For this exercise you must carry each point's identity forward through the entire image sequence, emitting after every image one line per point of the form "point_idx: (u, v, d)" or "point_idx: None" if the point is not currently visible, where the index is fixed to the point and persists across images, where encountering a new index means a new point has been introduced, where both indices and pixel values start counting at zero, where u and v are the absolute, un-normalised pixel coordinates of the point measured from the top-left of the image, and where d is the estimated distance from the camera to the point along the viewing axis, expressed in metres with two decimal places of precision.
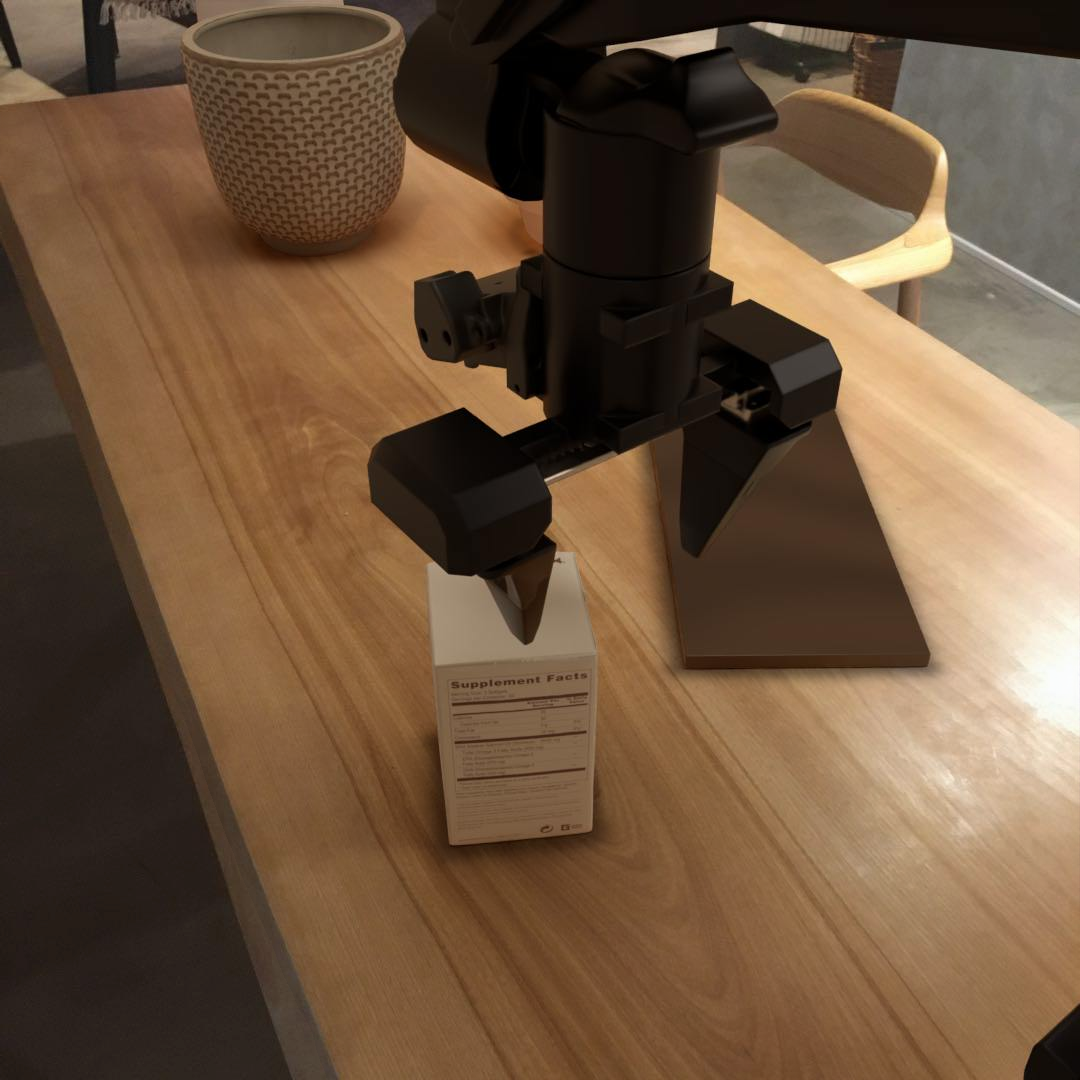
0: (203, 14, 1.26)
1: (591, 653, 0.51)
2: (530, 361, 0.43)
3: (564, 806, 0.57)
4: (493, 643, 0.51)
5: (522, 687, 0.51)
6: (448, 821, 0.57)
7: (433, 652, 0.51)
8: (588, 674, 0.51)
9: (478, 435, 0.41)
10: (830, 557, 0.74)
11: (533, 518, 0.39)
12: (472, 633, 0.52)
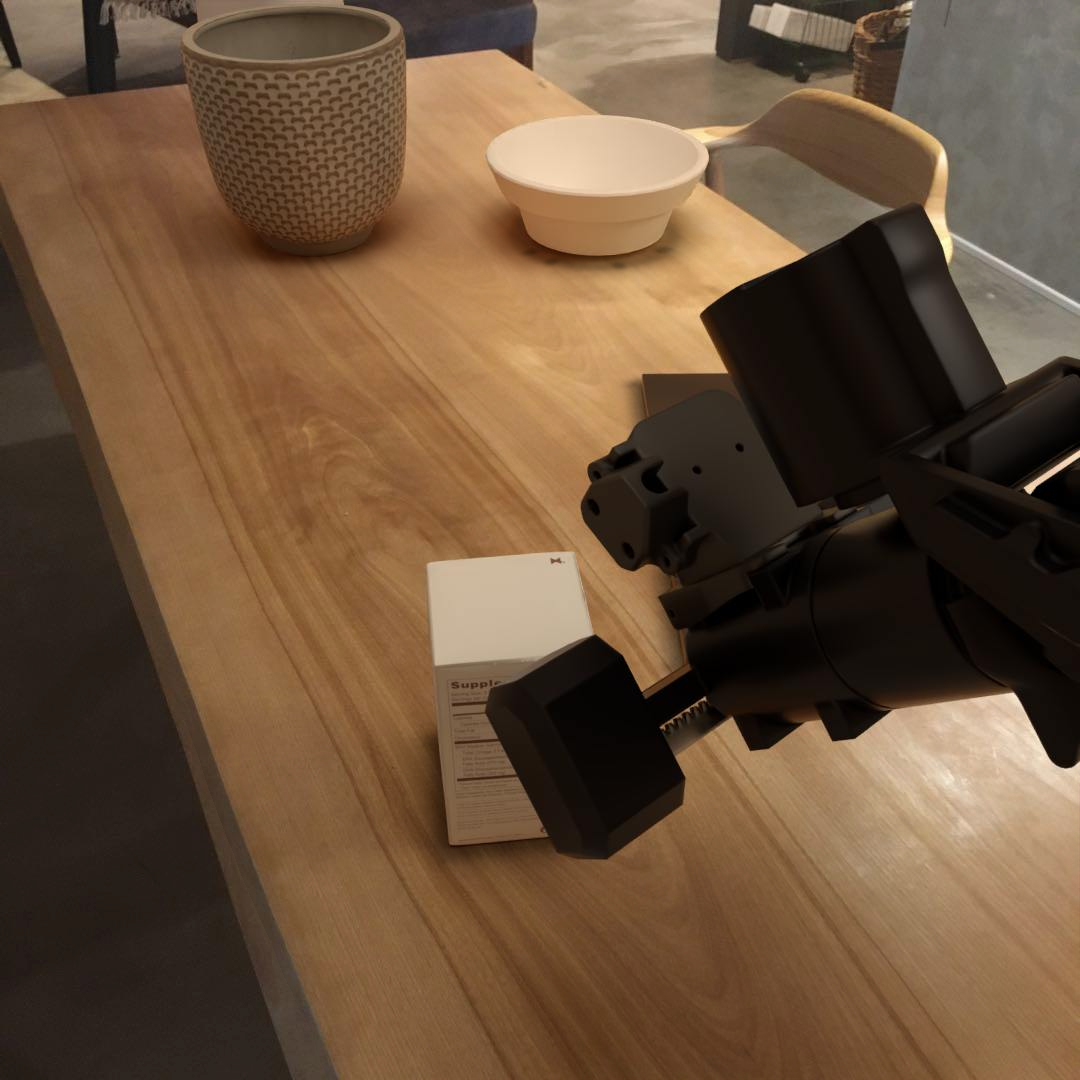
0: (203, 14, 1.26)
1: None
2: None
3: None
4: (493, 643, 0.51)
5: None
6: (448, 821, 0.57)
7: (433, 652, 0.51)
8: None
9: (635, 717, 0.37)
10: None
11: None
12: (472, 634, 0.52)
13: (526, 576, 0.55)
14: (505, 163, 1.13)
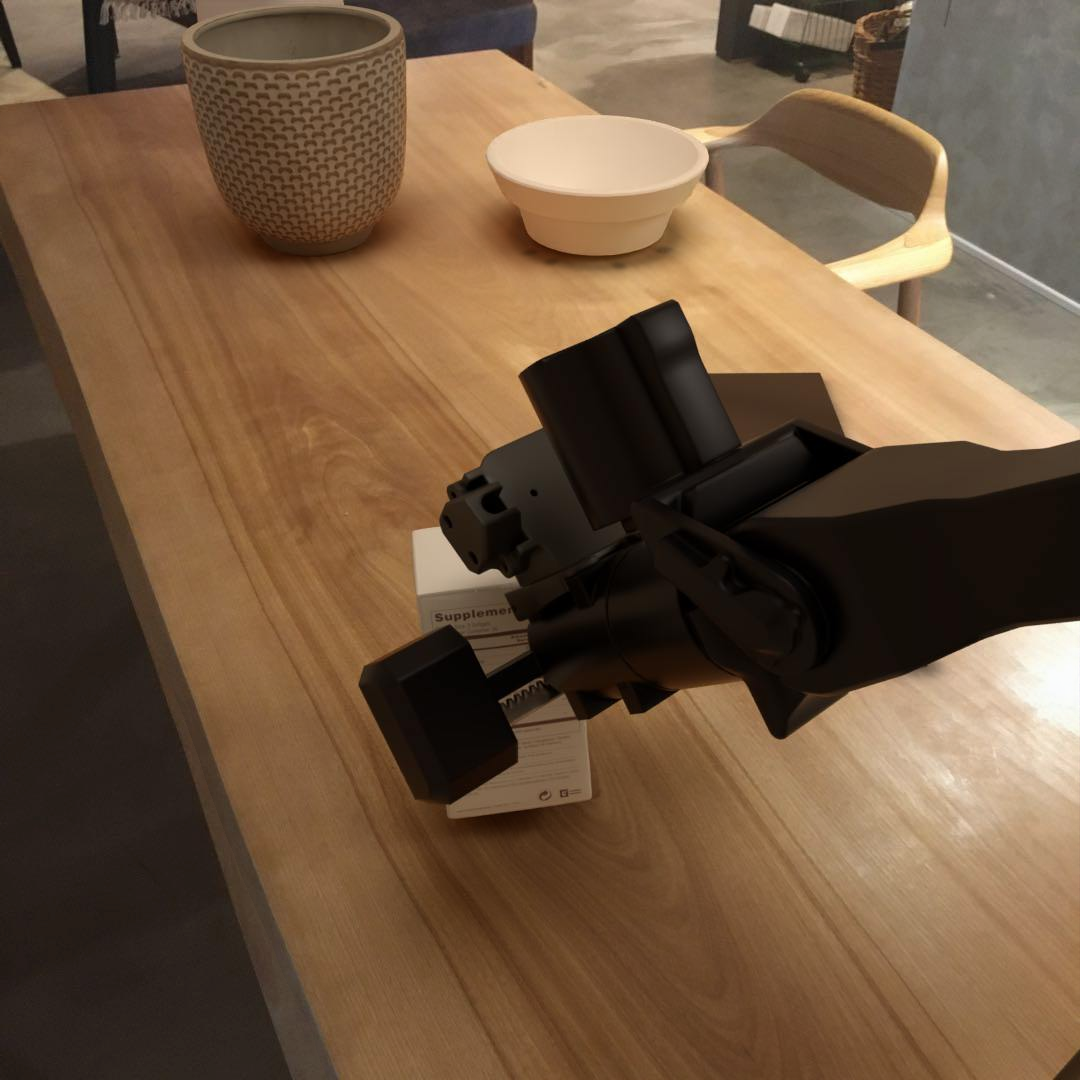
0: (203, 14, 1.26)
1: None
2: None
3: (560, 766, 0.57)
4: (474, 576, 0.53)
5: (504, 618, 0.53)
6: None
7: (416, 587, 0.53)
8: None
9: (477, 691, 0.46)
10: None
11: None
12: (453, 571, 0.53)
13: None
14: (505, 163, 1.13)
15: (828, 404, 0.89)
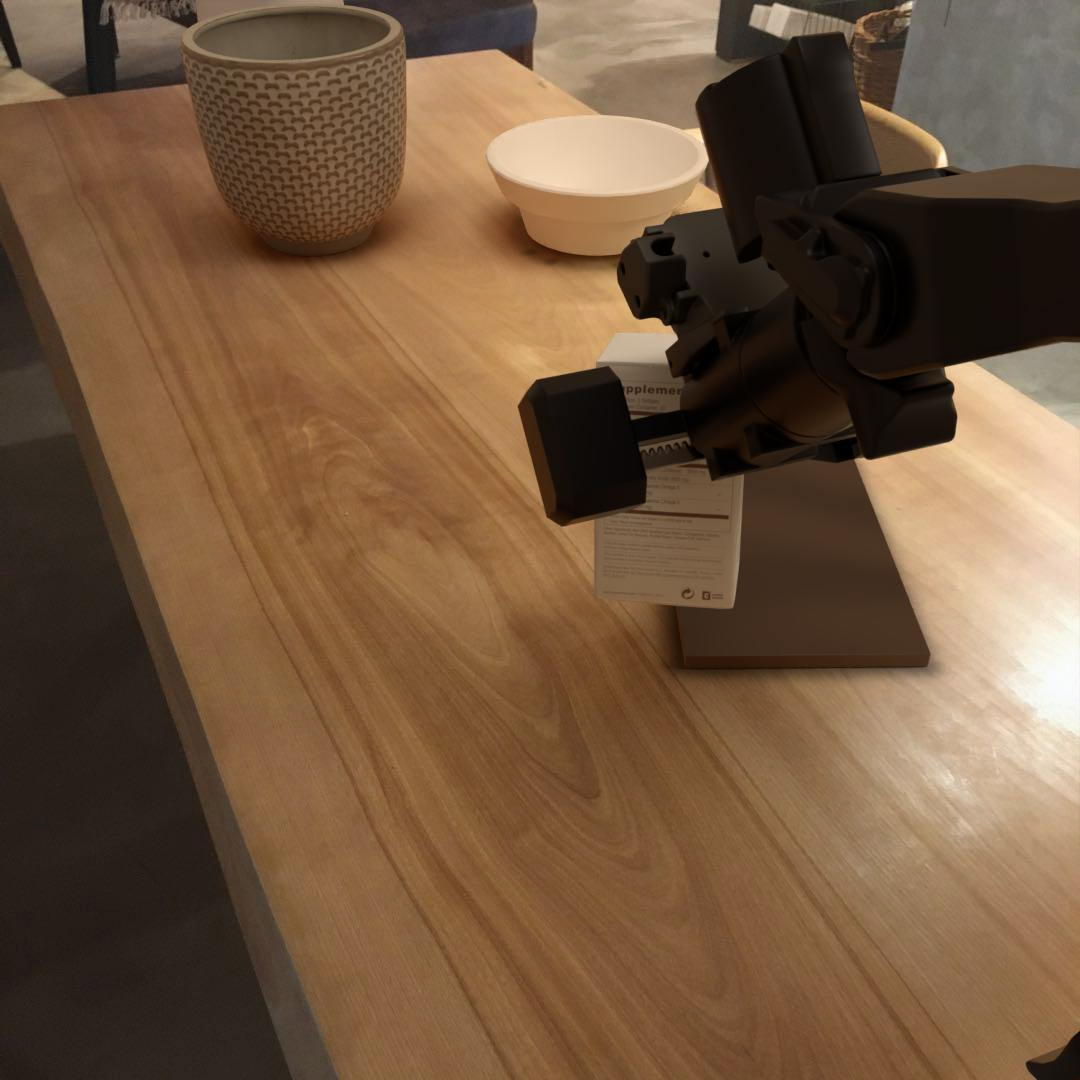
0: (203, 14, 1.26)
1: None
2: None
3: (706, 565, 0.59)
4: (653, 357, 0.57)
5: (673, 398, 0.56)
6: (595, 563, 0.60)
7: (598, 358, 0.57)
8: None
9: (618, 424, 0.49)
10: (830, 557, 0.74)
11: (625, 509, 0.50)
12: (636, 353, 0.57)
13: None
14: (505, 163, 1.13)
15: None
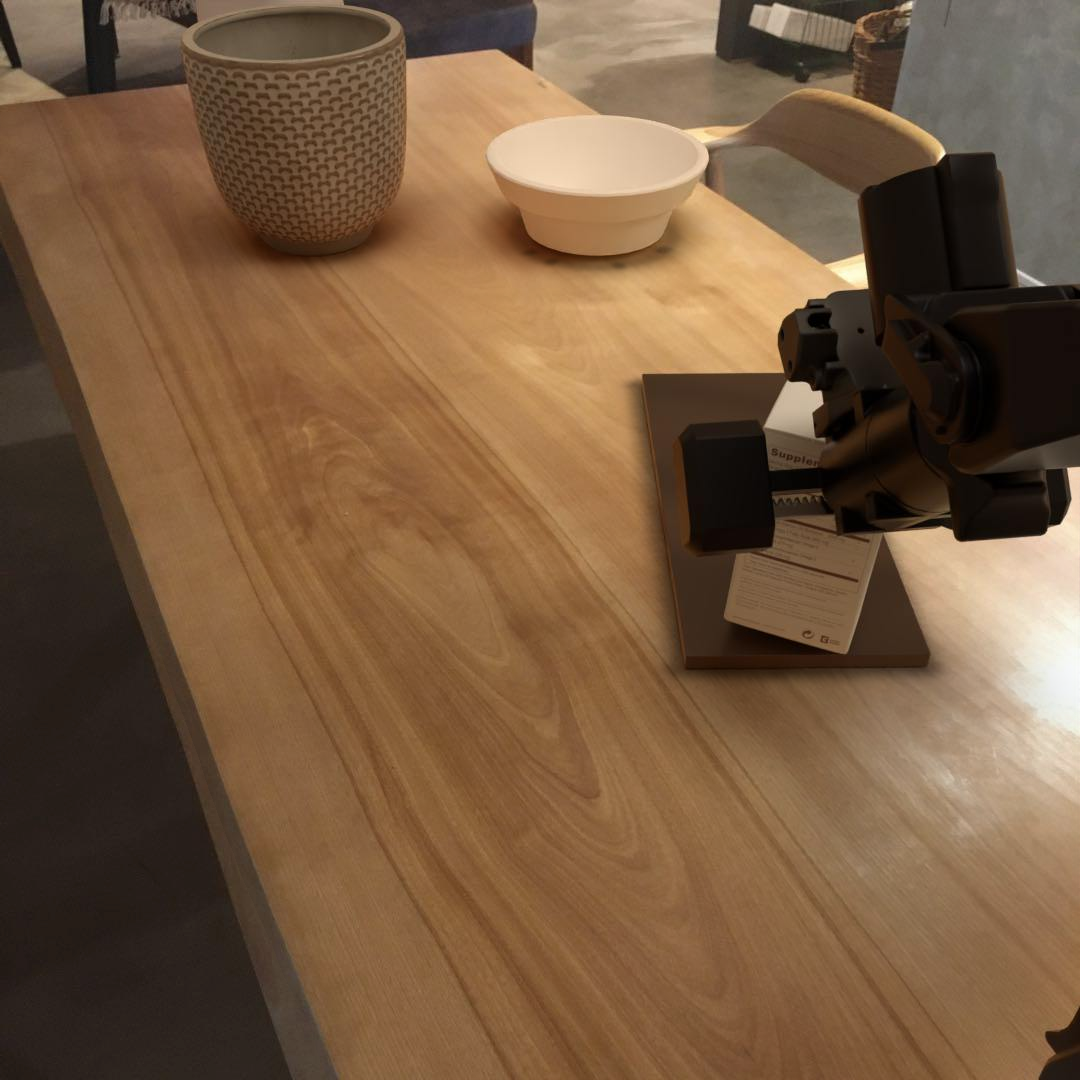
0: (203, 14, 1.26)
1: None
2: None
3: (829, 615, 0.65)
4: None
5: None
6: (729, 592, 0.66)
7: (766, 421, 0.62)
8: None
9: (756, 473, 0.55)
10: None
11: (753, 549, 0.56)
12: (802, 420, 0.62)
13: None
14: (505, 163, 1.13)
15: None
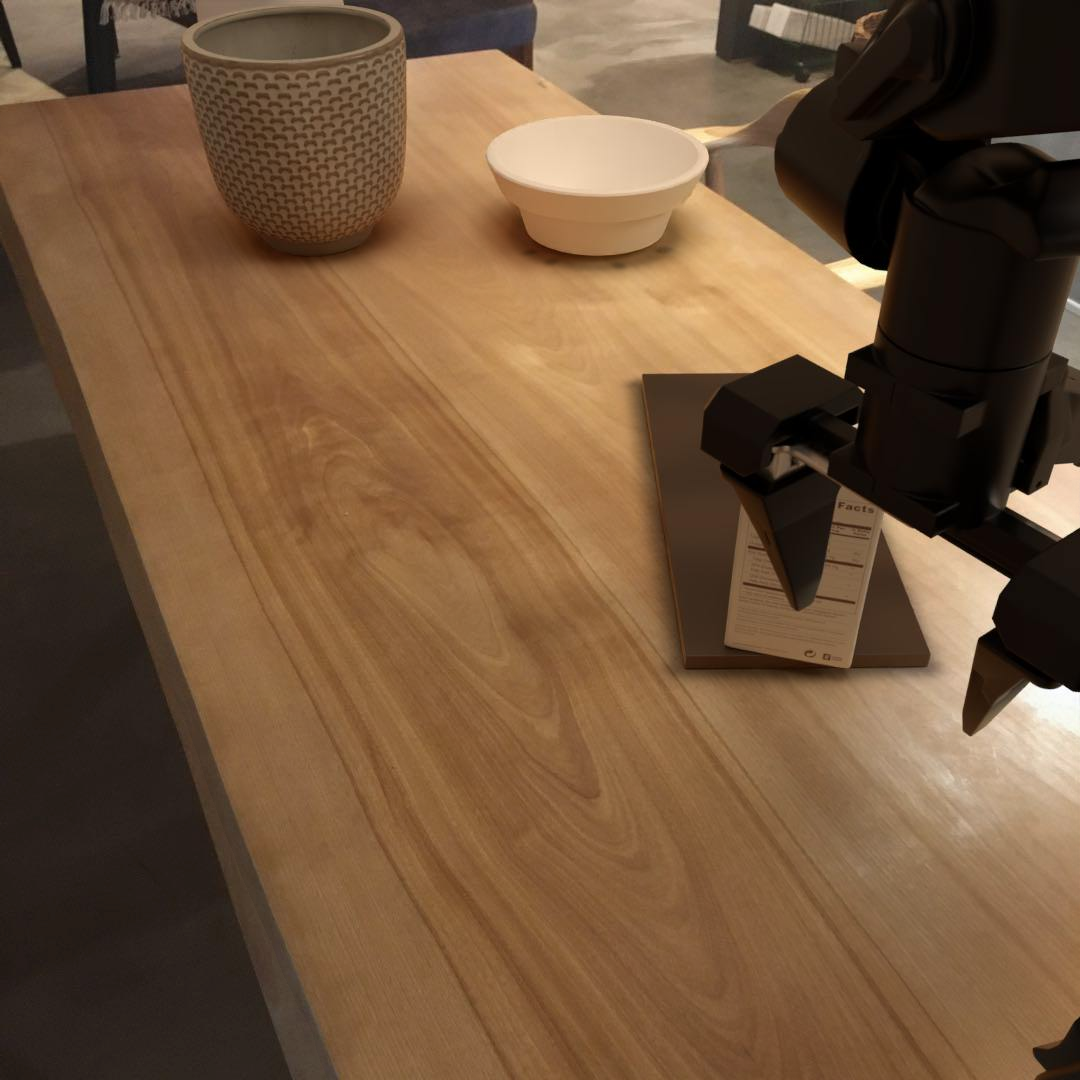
0: (203, 14, 1.26)
1: None
2: None
3: (829, 635, 0.65)
4: None
5: None
6: (727, 621, 0.66)
7: None
8: (875, 509, 0.59)
9: (814, 394, 0.47)
10: None
11: (746, 451, 0.47)
12: None
13: None
14: (505, 163, 1.13)
15: None
